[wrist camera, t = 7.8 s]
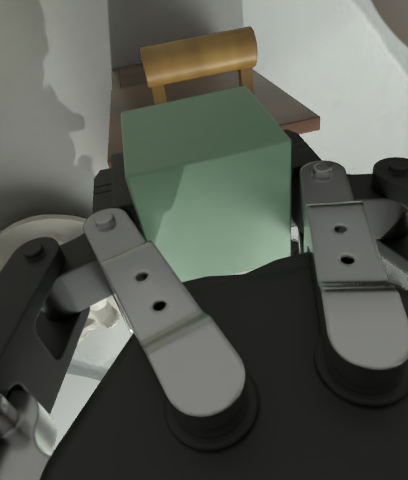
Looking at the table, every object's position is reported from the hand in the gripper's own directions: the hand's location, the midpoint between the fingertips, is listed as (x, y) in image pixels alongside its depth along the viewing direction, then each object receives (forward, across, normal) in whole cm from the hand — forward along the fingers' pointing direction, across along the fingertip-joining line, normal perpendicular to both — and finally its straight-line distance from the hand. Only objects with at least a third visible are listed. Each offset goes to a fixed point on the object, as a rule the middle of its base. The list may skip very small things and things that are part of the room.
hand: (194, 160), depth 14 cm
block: (0, 0, 0) cm, 0 cm away
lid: (+15, -2, +4) cm, 15 cm away
